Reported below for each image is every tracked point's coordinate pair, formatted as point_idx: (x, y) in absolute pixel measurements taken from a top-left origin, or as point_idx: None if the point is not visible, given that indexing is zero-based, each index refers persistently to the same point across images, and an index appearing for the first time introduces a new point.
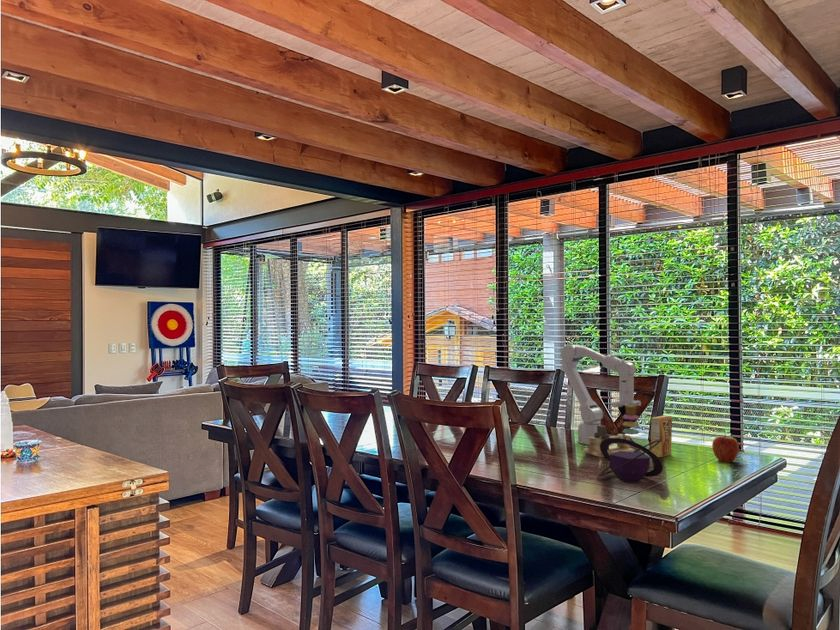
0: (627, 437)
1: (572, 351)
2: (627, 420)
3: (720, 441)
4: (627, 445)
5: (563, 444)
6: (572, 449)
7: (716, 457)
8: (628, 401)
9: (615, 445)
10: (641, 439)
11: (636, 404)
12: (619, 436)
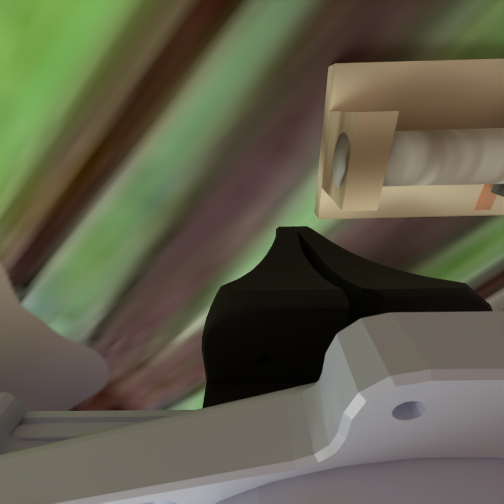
0: (383, 111)
1: None
2: (321, 235)
3: None
4: (359, 110)
5: None
6: (496, 273)
7: None
8: None
9: (335, 209)
10: (54, 308)
11: (55, 435)
12: (429, 148)
